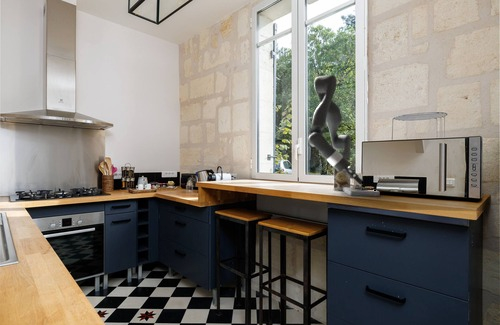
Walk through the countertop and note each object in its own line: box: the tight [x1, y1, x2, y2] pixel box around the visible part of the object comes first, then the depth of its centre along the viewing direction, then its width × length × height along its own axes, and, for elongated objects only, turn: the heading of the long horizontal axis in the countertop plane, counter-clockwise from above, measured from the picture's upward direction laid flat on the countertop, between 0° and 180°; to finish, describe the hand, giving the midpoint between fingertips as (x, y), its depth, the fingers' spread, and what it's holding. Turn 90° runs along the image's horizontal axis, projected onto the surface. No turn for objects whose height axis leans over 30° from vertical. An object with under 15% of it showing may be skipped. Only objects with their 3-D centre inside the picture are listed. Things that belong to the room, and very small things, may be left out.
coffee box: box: [333, 161, 351, 191], centre depth 160 cm, size 9×6×16 cm
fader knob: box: [351, 172, 363, 188], centre depth 148 cm, size 4×4×8 cm
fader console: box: [342, 187, 380, 197], centre depth 142 cm, size 21×13×2 cm, turn 171°
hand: (360, 183), depth 147 cm, fingers open, 6 cm apart
